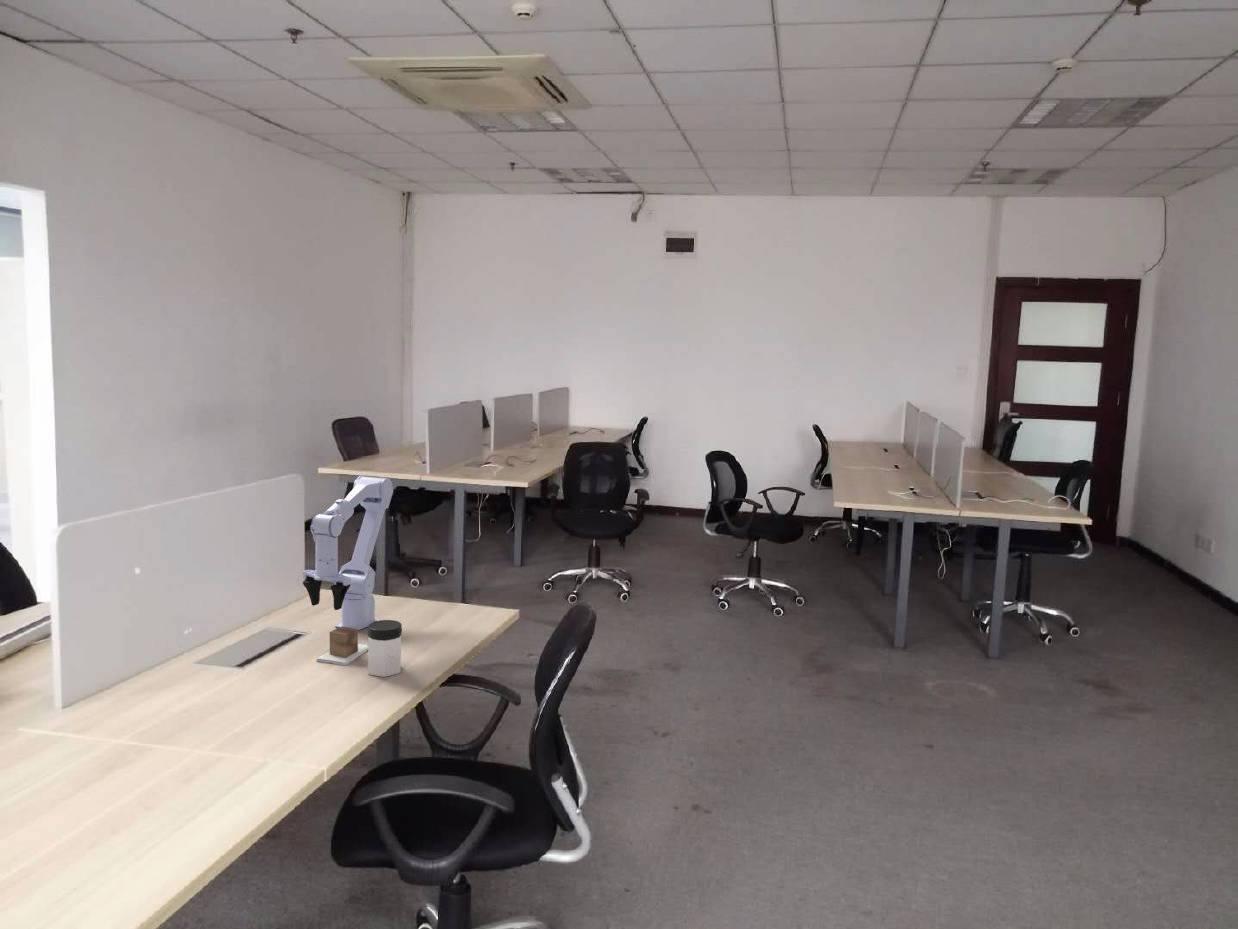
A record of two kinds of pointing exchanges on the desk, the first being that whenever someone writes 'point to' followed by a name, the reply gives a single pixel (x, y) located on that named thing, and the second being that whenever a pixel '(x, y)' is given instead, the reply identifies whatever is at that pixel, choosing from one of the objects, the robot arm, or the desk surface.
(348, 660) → the external hard drive
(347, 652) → the walnut block
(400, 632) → the jar
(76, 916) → the desk surface
